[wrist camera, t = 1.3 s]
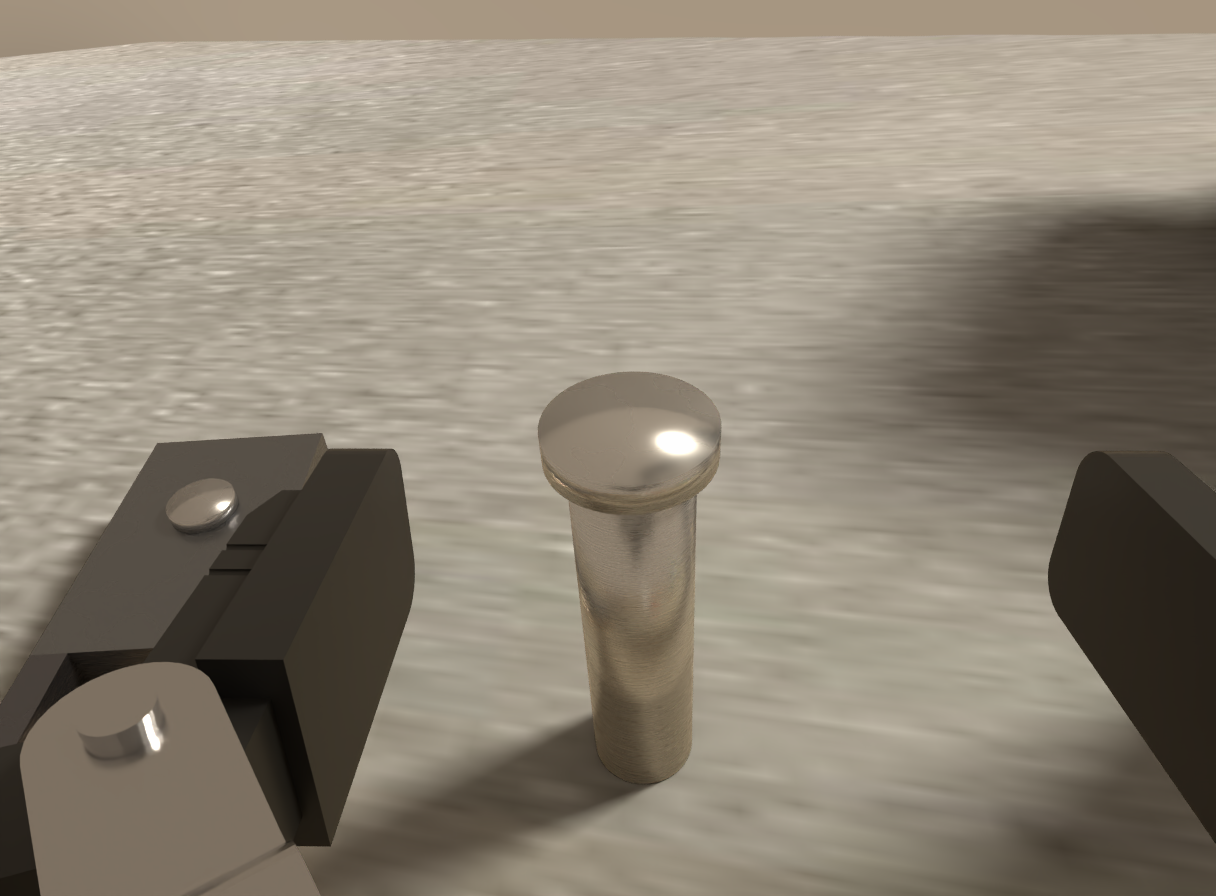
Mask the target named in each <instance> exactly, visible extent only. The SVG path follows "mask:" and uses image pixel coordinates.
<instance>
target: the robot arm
mask: <svg viewBox="0 0 1216 896" xmlns="http://www.w3.org/2000/svg"><path fill="white" fill-rule="evenodd" d="M226 546H227V548H226V550H222V551H221V553H220V554H219V555H218V557H217V558H216V560H215V561H214V562H213V564H212V565H211V567H210V568H209V575H204V577H203V578H202V580H201V581H200V582H199V584H198V585H197V587H196V588H195V590H194V591H193V592H192V594H191V595H190V597H189V598H188V600H187V601H186V602H185V604H184V605H183V607H182V608H181V610H180V611H179V612H178V614H177V615H176V617H175V618H174V620H173V621H172V622H171V624H170V625H169V627H168V628H167V630H166V631H165V632H164V634H163V635H162V637H161V638H160V640H159V641H158V642H157V644H156V645H155V647H154V648H153V650H152V651H151V652H150V654H149V655H148V657H147V658H146V659H145V661H144V662H143V664H138V665H133V666H129V667H125V668H121V669H118V670H115V671H112V672H110V673H107V674H104V675H102V676H100V677H97V678H95V679H93V680H91V681H89V682H87V683H85V684H83V685H82V686H80V687H78V688H76V689H75V690H73V691H72V692H70V693H69V694H67V695H66V696H64V697H63V698H61V699H60V700H59V701H58V702H56V703H55V704H54V705H53V706H52V707H50V708H49V709H48V710H47V711H46V712H45V713H44V714H43V715H42V716H41V717H40V719H39V720H38V721H37V722H36V723H35V725H34V726H33V728H32V729H31V730H30V732H29V733H28V735H27V737H26V739H25V741H24V742H21V743H17V744H13V745H9V746H4V747H0V896H321V895H320V893H319V891H318V889H317V887H316V884H315V882H314V880H313V878H312V876H311V874H310V872H309V869H308V867H307V865H306V863H305V861H304V859H303V857H302V855H301V853H300V851H299V850H298V848H297V846H331V844H332V841H333V838H334V835H335V832H336V829H337V826H338V823H339V820H340V817H341V814H342V811H343V808H344V805H345V802H346V799H347V796H348V793H349V790H350V788H351V785H352V782H353V779H354V776H355V773H356V770H357V767H358V764H359V761H360V758H361V755H362V752H363V749H364V746H365V743H366V740H367V737H368V734H369V731H370V728H371V725H372V722H373V719H374V716H375V713H376V710H377V707H378V704H379V701H380V698H381V695H382V692H383V689H384V686H385V683H386V680H387V677H388V674H389V671H390V668H391V665H392V662H393V659H394V656H395V653H396V650H397V647H398V644H399V641H400V638H401V635H402V633H403V630H404V627H405V624H406V621H407V618H408V615H409V612H410V608H411V604H412V599H413V592H414V581H415V564H414V554H413V547H412V540H411V533H410V526H409V519H408V512H407V505H406V498H405V491H404V484H403V477H402V470H401V465H400V461H399V457H398V455H397V453H396V451H395V450H394V449H328V450H327V451H326V452H325V453H324V455H323V456H322V458H321V459H320V461H319V463H318V464H317V466H316V467H315V469H314V471H313V472H312V474H311V475H310V477H309V479H308V480H307V482H306V483H305V485H304V487H303V488H302V490H282V491H280V492H279V493H277V494H276V495H275V496H273V497H272V498H270V499H269V500H267V501H266V502H265V503H263V504H262V505H260V506H259V507H257V508H256V509H255V510H253V511H252V512H250V513H249V514H247V515H246V517H245V518H244V520H243V521H242V523H241V524H240V525H239V527H238V528H237V530H236V531H235V533H234V534H233V535H232V537H231V538H230V540H229V541H228V543H227V544H226ZM1048 585H1049V592H1050V596H1051V600H1052V603H1053V606H1054V608H1055V610H1056V612H1057V614H1058V616H1059V617H1060V619H1061V620H1062V621H1063V623H1064V624H1065V626H1066V627H1067V629H1068V630H1069V632H1070V633H1071V634H1072V636H1073V637H1074V639H1075V640H1076V642H1077V643H1078V645H1079V646H1080V648H1081V649H1082V650H1083V652H1084V653H1085V655H1086V656H1087V658H1088V659H1089V661H1090V662H1091V663H1092V665H1093V666H1094V668H1095V669H1096V671H1097V672H1098V674H1099V675H1100V677H1101V678H1102V679H1103V681H1104V682H1105V684H1106V685H1107V687H1108V688H1109V690H1110V691H1111V692H1112V694H1113V695H1114V697H1115V698H1116V700H1117V701H1118V703H1119V704H1120V706H1121V707H1122V708H1123V710H1124V711H1125V713H1126V714H1127V716H1128V717H1129V719H1130V720H1131V721H1132V723H1133V724H1134V726H1135V727H1136V729H1137V730H1138V732H1139V733H1140V734H1141V736H1142V737H1143V739H1144V740H1145V742H1146V743H1147V745H1148V746H1149V748H1150V749H1151V750H1152V752H1153V753H1154V755H1155V756H1156V758H1157V759H1158V761H1159V762H1160V763H1161V765H1162V766H1163V768H1164V769H1165V771H1166V772H1167V774H1168V775H1169V777H1170V778H1171V779H1172V781H1173V782H1174V784H1175V785H1176V787H1177V788H1178V790H1179V791H1180V792H1181V794H1182V795H1183V797H1184V798H1185V800H1186V801H1187V803H1188V804H1189V806H1190V807H1191V808H1192V810H1193V811H1194V813H1195V814H1196V816H1197V817H1198V819H1199V820H1200V821H1201V823H1202V824H1203V826H1204V827H1205V829H1206V830H1207V832H1208V833H1209V835H1210V836H1211V837H1212V839H1213V840H1214V842H1215V843H1216V493H1215V492H1214V491H1213V490H1212V489H1210V488H1209V487H1208V486H1207V485H1206V484H1205V483H1203V482H1202V481H1201V480H1200V479H1199V478H1198V477H1197V476H1195V475H1194V474H1193V473H1192V472H1191V471H1190V470H1188V469H1187V468H1186V467H1185V466H1184V465H1183V464H1181V463H1180V462H1179V461H1178V460H1177V459H1176V458H1174V457H1173V456H1172V455H1170V454H1168V453H1166V452H1161V451H1095V452H1092V453H1090V454H1088V455H1087V456H1086V457H1085V458H1084V459H1083V460H1082V462H1081V463H1080V465H1079V467H1078V470H1077V473H1076V476H1075V479H1074V482H1073V486H1072V489H1071V492H1070V496H1069V499H1068V502H1067V505H1066V509H1065V512H1064V515H1063V519H1062V522H1061V525H1060V528H1059V532H1058V535H1057V538H1056V542H1055V545H1054V548H1053V551H1052V555H1051V558H1050V562H1049V569H1048Z"/></svg>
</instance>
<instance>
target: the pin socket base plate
mask: <svg viewBox="0 0 1216 896" xmlns="http://www.w3.org/2000/svg"><path fill="white" fill-rule="evenodd" d="M327 450H328V448H327V445H326V442H325V439H324V436H323V433H317V434H301V435H284V436H268V437H252V438H235V439H219V440H203V441H186V442H170V443H157V445H156V446H155V448H154V450H153V451H152V453H151V455H150V456H149V458H148V460H147V461H146V463H145V465H144V466H143V468H142V470H141V471H140V473H139V475H138V476H137V478H136V480H135V481H134V483H133V485H132V486H131V488H130V490H129V491H128V493H127V495H126V496H125V498H124V500H123V501H122V503H121V505H120V506H119V508H118V510H117V511H116V513H115V515H114V516H113V518H112V520H111V521H110V523H109V525H108V526H107V528H106V530H105V531H104V533H103V535H102V536H101V538H100V540H99V541H98V543H97V545H96V546H95V548H94V550H93V551H92V553H91V555H90V556H89V558H88V560H87V561H86V563H85V565H84V566H83V568H82V570H81V571H80V573H79V575H78V576H77V578H76V580H75V581H74V583H73V585H72V586H71V588H70V590H69V591H68V593H67V594H66V596H65V598H64V599H63V601H62V603H61V604H60V606H59V608H58V609H57V611H56V613H55V614H54V616H53V618H52V619H51V621H50V623H49V624H48V626H47V628H46V629H45V631H44V633H43V634H42V636H41V638H40V639H39V641H38V643H37V644H36V646H35V648H34V649H33V651H32V653H31V654H30V656H29V658H28V659H27V661H26V663H25V664H24V666H23V668H22V669H21V671H20V673H19V674H18V676H17V678H16V679H15V681H14V683H13V684H12V686H11V688H10V689H9V691H8V693H7V694H6V696H5V698H4V699H3V701H2V703H1V704H0V747H4V746H9V745H13V744H17V743H21V742H24V741H25V739H26V737H27V735H28V733H29V732H30V730H31V729H32V728H33V726H34V725H35V723H36V722H37V721H38V720H39V719H40V717H41V716H42V715H43V714H44V713H45V712H46V711H47V710H48V709H49V708H50V707H52V706H53V705H54V704H55V703H56V702H58V701H59V700H60V699H61V698H63V697H64V696H66V695H67V694H69V693H70V692H72V691H73V690H75V689H76V688H78V687H80V686H82V685H83V684H85V683H87V682H89V681H91V680H93V679H95V678H97V677H100V676H102V675H104V674H107V673H110V672H112V671H115V670H118V669H121V668H125V667H129V666H133V665H138V664H143V662H144V661H145V659H146V658H147V657H148V655H149V654H150V652H151V651H152V650H153V648H154V647H155V645H156V644H157V642H158V641H159V640H160V638H161V637H162V635H163V634H164V632H165V631H166V630H167V628H168V627H169V625H170V624H171V622H172V621H173V620H174V618H175V617H176V615H177V614H178V612H179V611H180V610H181V608H182V607H183V605H184V604H185V602H186V601H187V600H188V598H189V597H190V595H191V594H192V592H193V591H194V590H195V588H196V587H197V585H198V584H199V582H200V581H201V580H202V578H203V577H204V575H209V568H210V567H211V565H212V564H213V562H214V561H215V560H216V558H217V557H218V555H219V554H220V553H221V551H222V550H226V548H227V546H226V544H227V543H228V541H229V540H230V538H231V537H232V535H233V534H234V533H235V531H236V530H237V528H238V527H239V525H240V524H241V523H242V521H243V520H244V518H245V517H246V515H247V514H249V513H250V512H252V511H253V510H255V509H256V508H257V507H259V506H260V505H262V504H263V503H265V502H266V501H267V500H269V499H270V498H272V497H273V496H275V495H276V494H277V493H279V492H280V491H282V490H302V488H303V487H304V485H305V483H306V482H307V480H308V479H309V477H310V475H311V474H312V472H313V471H314V469H315V467H316V466H317V464H318V463H319V461H320V459H321V458H322V456H323V455H324V453H325V452H326V451H327Z"/></svg>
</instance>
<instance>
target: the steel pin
mask: <svg viewBox="0 0 1216 896" xmlns="http://www.w3.org/2000/svg"><path fill="white" fill-rule="evenodd" d="M538 439H539V446H540V454H541V461H542V467H543V471H544V474H545V476H546V479H547V480H548V482H549V483H550V485H551V486H552V487H553V488H554V489H555V490H556V491H557V492H558V493H559V494H560V495H562V496H563V497H564V498H566V499H567V500H569V509H570V518H571V527H572V536H573V545H574V554H575V562H576V571H577V580H578V589H579V598H580V607H581V616H582V625H583V633H584V642H585V651H586V660H587V669H588V678H589V687H590V696H591V705H592V713H593V722H594V731H595V740H596V747H597V752H598V755H599V757H600V759H601V761H602V763H603V764H604V765H605V767H606V768H607V769H608V770H609V771H610V772H611V773H613V774H614V775H615V776H617V777H619V778H620V779H623V780H625V781H628V782H631V783H636V784H652V783H657V782H660V781H663V780H665V779H667V778H669V777H671V776H672V775H674V774H675V773H676V772H678V771H679V770H680V769H681V768H682V766H683V765H684V764H685V762H686V761H687V759H688V757H689V754H690V751H691V746H692V708H693V656H694V605H695V553H696V501H697V494H698V493H699V492H700V491H702V490H703V489H704V488H705V487H706V486H707V485H708V484H709V482H710V481H711V480H712V478H713V477H714V475H715V473H716V471H717V468H718V466H719V461H720V446H721V419H720V415H719V412H718V410H717V408H716V406H715V405H714V403H713V402H712V401H711V399H710V398H709V397H708V396H707V395H706V394H704V393H703V392H702V391H700V390H699V389H698V388H696V387H694V386H693V385H691V384H689V383H687V382H684V381H682V380H680V379H677V378H674V377H670V376H666V375H662V374H656V373H649V372H618V373H611V374H605V375H601V376H597V377H593V378H590V379H587V380H584V381H582V382H579V383H577V384H575V385H573V386H571V387H569V388H567V389H566V390H564V391H563V392H561V393H560V394H559V395H558V396H556V397H555V398H554V399H553V400H552V401H551V402H550V403H549V404H548V405H547V407H546V408H545V410H544V411H543V413H542V415H541V418H540V420H539V425H538Z"/></svg>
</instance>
